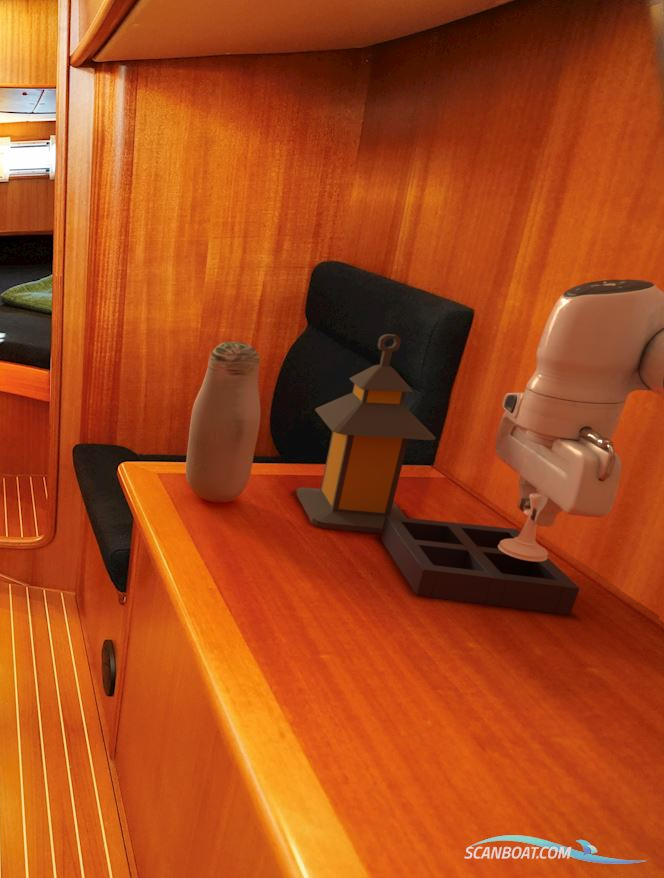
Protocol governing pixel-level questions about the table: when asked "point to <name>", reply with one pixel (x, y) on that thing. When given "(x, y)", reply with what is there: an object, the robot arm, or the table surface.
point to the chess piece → (526, 537)
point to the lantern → (364, 450)
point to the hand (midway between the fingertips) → (534, 517)
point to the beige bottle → (224, 424)
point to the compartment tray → (474, 566)
